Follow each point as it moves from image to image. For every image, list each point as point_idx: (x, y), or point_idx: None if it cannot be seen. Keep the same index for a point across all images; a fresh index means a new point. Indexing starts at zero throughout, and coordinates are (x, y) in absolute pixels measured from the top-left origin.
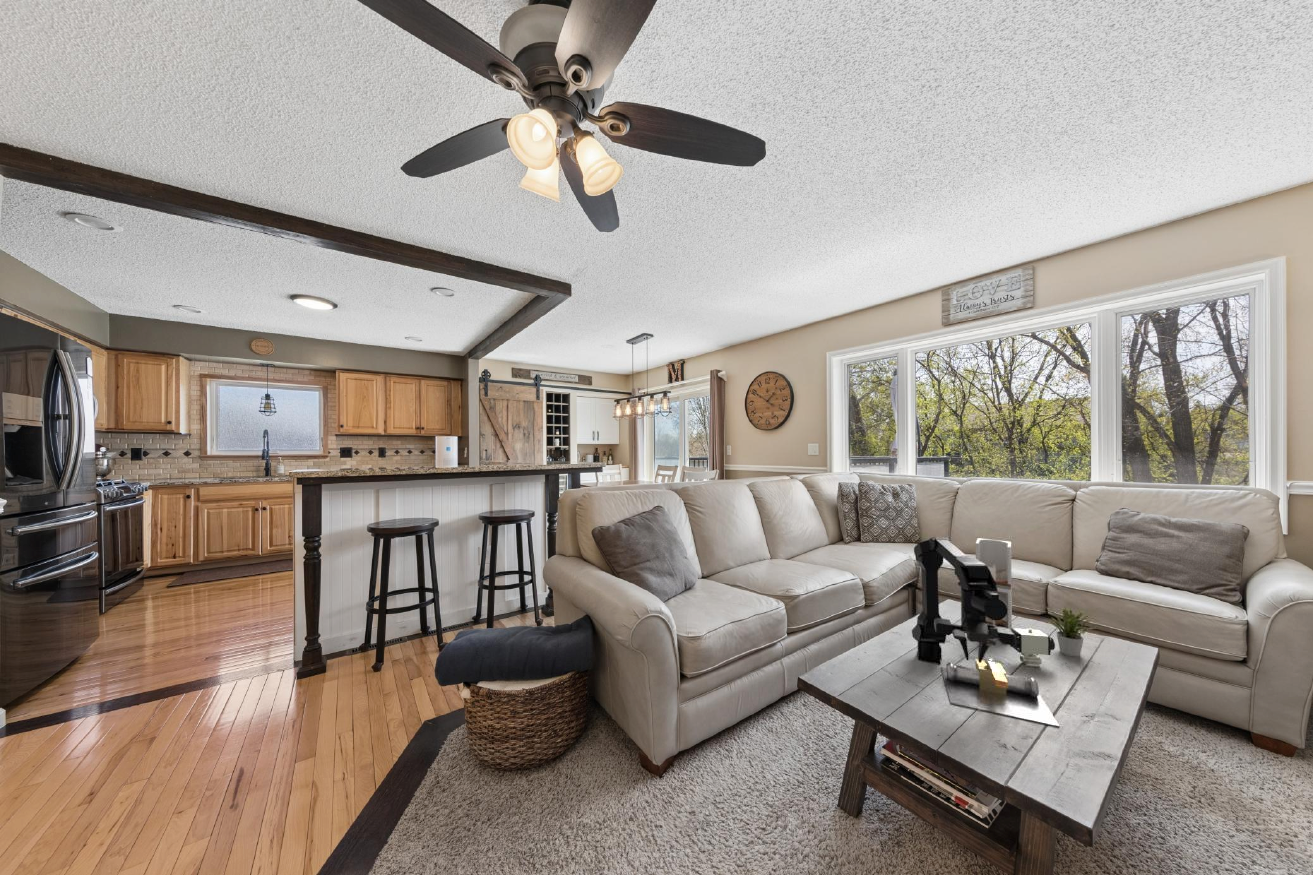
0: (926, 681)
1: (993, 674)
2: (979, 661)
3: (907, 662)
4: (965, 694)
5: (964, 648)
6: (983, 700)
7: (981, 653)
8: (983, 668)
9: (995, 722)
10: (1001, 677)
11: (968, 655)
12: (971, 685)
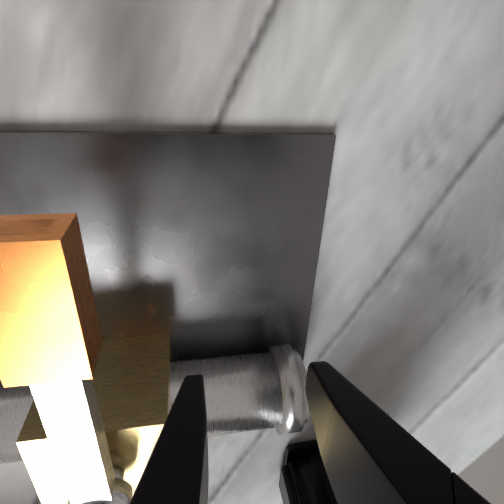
0: (379, 300)
1: (79, 328)
2: (201, 381)
3: (403, 403)
4: (242, 256)
5: (451, 493)
6: (165, 238)
7: (183, 494)
8: (144, 434)
9: (125, 14)
10: (9, 305)
11: (337, 409)
12: (200, 348)
